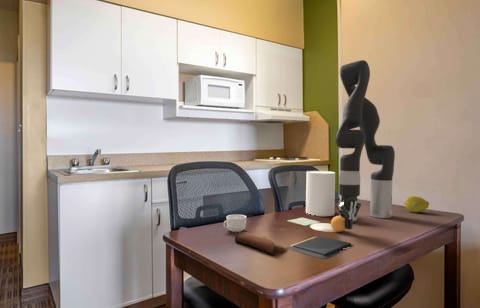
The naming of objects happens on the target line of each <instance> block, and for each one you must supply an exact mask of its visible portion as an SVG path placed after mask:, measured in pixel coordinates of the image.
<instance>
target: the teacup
mask: <svg viewBox="0 0 480 308" xmlns="http://www.w3.org/2000/svg"><path fill="white" fill-rule="evenodd" d="M222 225H223V228H225V229H228V230H229V231H230V232H232V233H240V232H244V230H245V228H246V226H247V215H244V214H229V215H227V216H226V220H224V222H223V224H222Z"/></svg>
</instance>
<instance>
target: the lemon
mask: <svg viewBox="0 0 480 308" xmlns="http://www.w3.org/2000/svg"><path fill="white" fill-rule="evenodd" d="M404 205H405V208H406V209H407V210H408V211H409V212H411V213H416V214H417V213H422V212H424V211H425V210H426V209H428V208H429V206H430V202H429V201H427V200H426V199H424V198H422V197H421V196H416V195H415V196H413V195H412V196H409V197H408V198H407V199H406V200H405V201H404Z"/></svg>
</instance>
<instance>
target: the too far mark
mask: <svg viewBox="0 0 480 308" xmlns="http://www.w3.org/2000/svg"><path fill="white" fill-rule="evenodd" d="M287 222H289V223H293V224H297V225H300V226H304V227H305V226H310V225H312V224H316V223H321V221H319V220H314V219H309V218H307V217H306V218H305V217H298V218H294V219H288V220H287Z"/></svg>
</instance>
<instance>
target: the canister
mask: <svg viewBox="0 0 480 308" xmlns="http://www.w3.org/2000/svg"><path fill="white" fill-rule="evenodd" d="M305 178H306V179H305V183H306V184H305V213H306V214H307V213H308V214H307V215H309V214H311V215H310V216H314V215H316V216H315V217H331V216H335V207H336V205H335V202H336V199H335V197H336V172H334V171H330V170H328V171H327V170H306V177H305Z"/></svg>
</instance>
